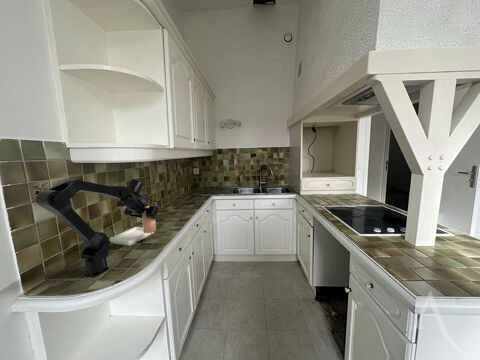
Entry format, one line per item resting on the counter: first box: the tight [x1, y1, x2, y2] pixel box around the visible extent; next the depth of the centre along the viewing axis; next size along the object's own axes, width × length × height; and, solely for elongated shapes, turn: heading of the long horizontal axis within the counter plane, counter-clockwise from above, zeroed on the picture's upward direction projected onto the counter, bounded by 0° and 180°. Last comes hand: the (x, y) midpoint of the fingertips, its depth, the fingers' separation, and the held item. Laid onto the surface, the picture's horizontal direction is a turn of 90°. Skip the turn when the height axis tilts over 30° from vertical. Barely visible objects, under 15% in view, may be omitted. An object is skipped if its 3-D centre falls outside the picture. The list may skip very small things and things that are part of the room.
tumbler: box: [141, 205, 157, 233], centre depth 111 cm, size 7×7×13 cm
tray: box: [109, 226, 155, 247], centre depth 119 cm, size 18×14×2 cm
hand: (150, 218), depth 113 cm, fingers closed on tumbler, 6 cm apart
